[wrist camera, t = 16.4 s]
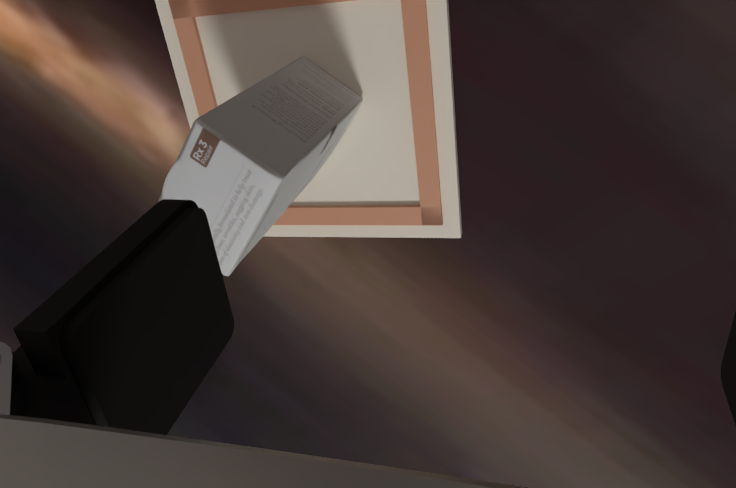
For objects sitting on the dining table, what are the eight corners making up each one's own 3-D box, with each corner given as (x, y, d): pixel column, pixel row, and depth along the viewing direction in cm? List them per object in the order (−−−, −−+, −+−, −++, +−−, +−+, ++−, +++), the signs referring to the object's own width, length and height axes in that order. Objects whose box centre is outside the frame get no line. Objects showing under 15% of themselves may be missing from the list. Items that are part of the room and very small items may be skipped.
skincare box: (318, 176, 36) (230, 289, 26) (254, 134, 36) (141, 232, 26) (369, 93, 33) (291, 185, 23) (299, 46, 33) (189, 118, 22)
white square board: (154, -25, 33) (145, -22, 33) (444, -62, 29) (441, -60, 28) (224, 231, 41) (218, 238, 40) (462, 233, 37) (460, 240, 36)
